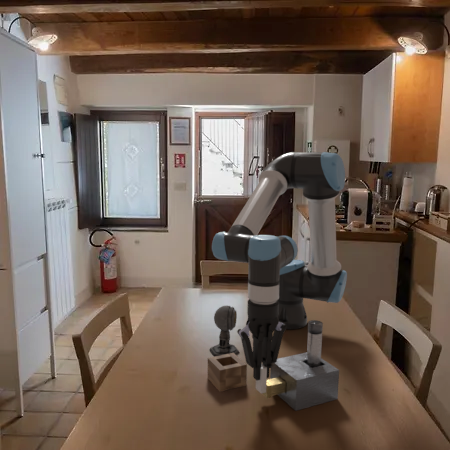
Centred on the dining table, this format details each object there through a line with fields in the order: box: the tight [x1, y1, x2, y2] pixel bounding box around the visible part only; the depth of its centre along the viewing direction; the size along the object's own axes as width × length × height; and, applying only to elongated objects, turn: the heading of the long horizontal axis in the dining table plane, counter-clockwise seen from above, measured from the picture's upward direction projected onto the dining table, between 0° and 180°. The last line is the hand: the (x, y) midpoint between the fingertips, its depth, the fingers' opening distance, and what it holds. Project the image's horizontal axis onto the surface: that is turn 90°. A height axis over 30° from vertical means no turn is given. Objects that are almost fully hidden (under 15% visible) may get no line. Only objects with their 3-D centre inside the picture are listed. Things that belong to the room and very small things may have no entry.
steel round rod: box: [306, 319, 324, 368], centre depth 120 cm, size 4×4×18 cm
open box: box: [207, 353, 248, 392], centre depth 126 cm, size 8×8×6 cm
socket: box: [269, 352, 340, 412], centre depth 120 cm, size 12×13×8 cm
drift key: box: [262, 377, 287, 399], centre depth 116 cm, size 3×9×3 cm, turn 116°
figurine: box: [209, 305, 240, 357], centre depth 144 cm, size 9×10×15 cm
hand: (260, 390), depth 114 cm, fingers closed
